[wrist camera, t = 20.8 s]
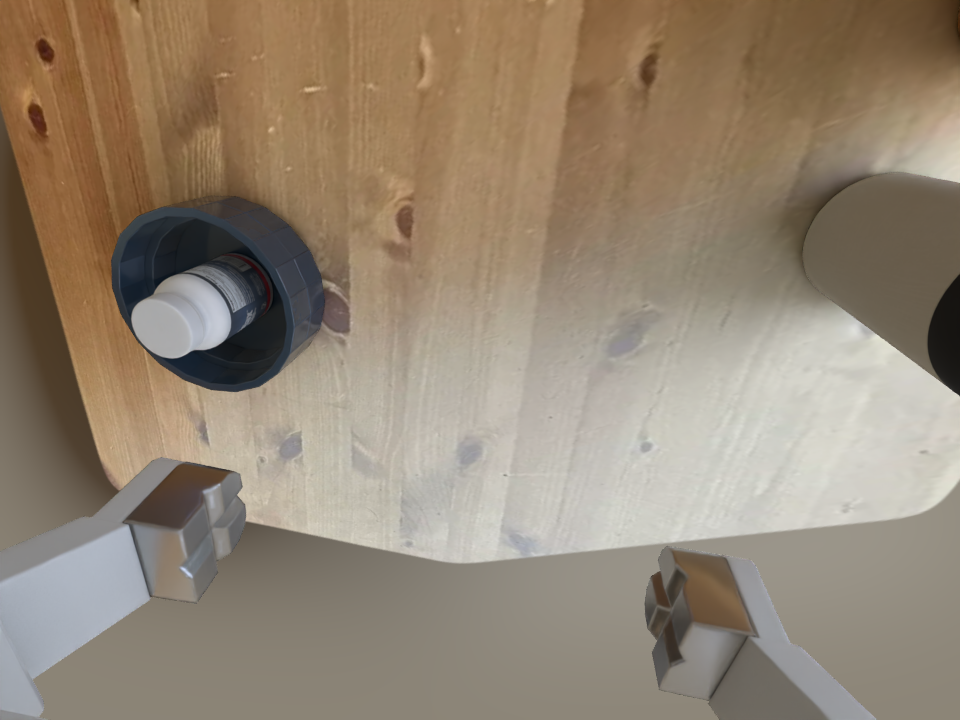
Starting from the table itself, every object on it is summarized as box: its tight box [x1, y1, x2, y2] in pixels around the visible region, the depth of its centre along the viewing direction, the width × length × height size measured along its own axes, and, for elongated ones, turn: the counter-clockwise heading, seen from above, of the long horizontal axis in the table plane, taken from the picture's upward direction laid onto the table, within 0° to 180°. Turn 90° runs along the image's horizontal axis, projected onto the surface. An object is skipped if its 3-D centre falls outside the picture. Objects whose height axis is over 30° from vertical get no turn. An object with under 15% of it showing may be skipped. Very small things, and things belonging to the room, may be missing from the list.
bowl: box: [111, 196, 325, 392], centre depth 37 cm, size 13×13×6 cm
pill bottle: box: [131, 253, 273, 358], centre depth 35 cm, size 5×5×9 cm
